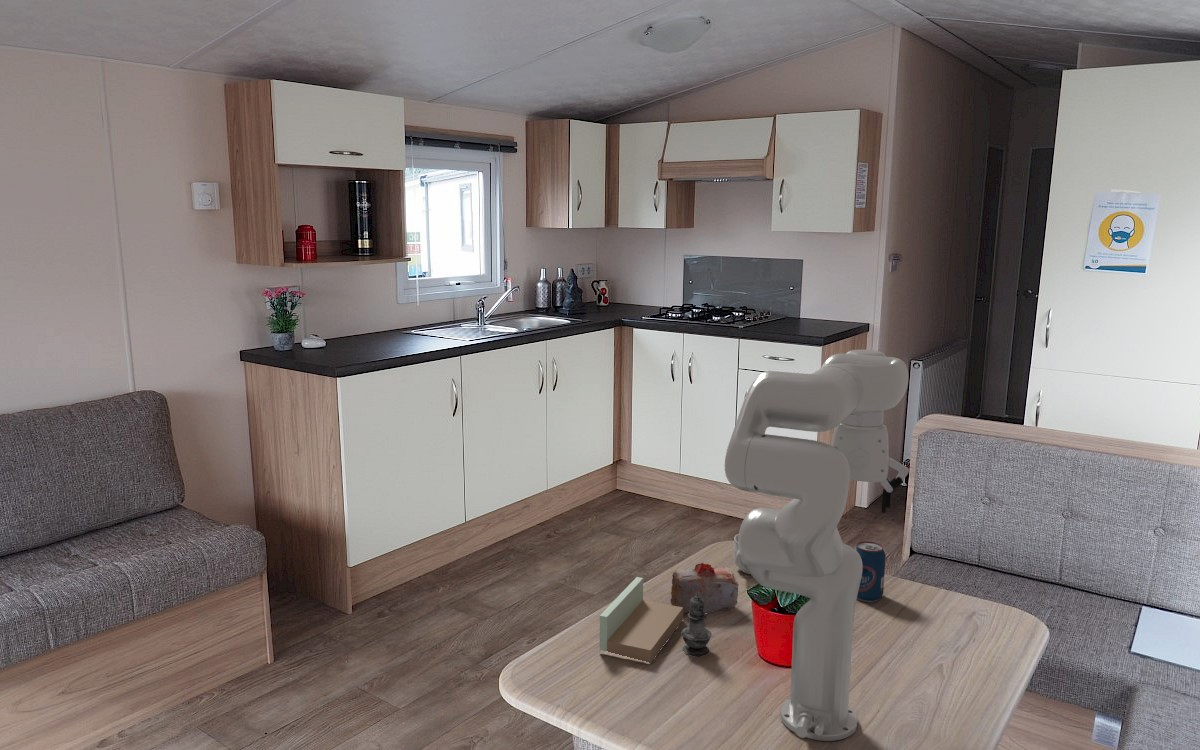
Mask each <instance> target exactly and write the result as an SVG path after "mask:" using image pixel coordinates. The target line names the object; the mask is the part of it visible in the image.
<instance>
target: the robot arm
mask: <svg viewBox="0 0 1200 750" xmlns="http://www.w3.org/2000/svg"><path fill="white" fill-rule="evenodd" d="M908 386H909V369H908V366H907V364H906V362H904V361H903V360H902V359H901V358H897V357H893V356H886V354H885V353H884V352H882V351H880V350H874V349H852V350H849V351H848V352H846V353H835V354H832V355H831V356H829V357H828V358H826V360H825V361H824V363H822V365H821V367H820V368H819V369H817V370H815V371H813V372H812V373H800V372H789V371H778V370H766V371H763V372H761V373H760V374H758V375H757V377H755V379H754V380H753V381H752V383H751V385H750V387H749V389H748V390H747V393H746V396H745V398H744V400H743V402H742V405H741V408H740V410H739V414H738V416H737V419H736V422H735V424H734V428H733V431H732V434H731V437H730V440H729V441H728V446H727V448H726V452H725V453H726V454H725V457H724V472H725V477H726V479H727V481H728V482H729V484H730V485H731V486H732V487H734V488H736V489H738V490H740V491H745V492H750V493H756V494H762V495H769V496H776V497H781V498H785V499H786V498H789V499H791V500H790V501H789V502H788V503H786V504H785V505H783V507H782V508H781V509H775V508H767V507H758V508H754V509H752V510H750V512H748V513H747V514H746V515H745V517H744V519H743V520H742V522H741V524H740V527H739V531H738V532H739V533H738V534H739V540H738V543H739V552H740V556H741V559H742V561H743V563H744V565H745V566H746V568H747V569H748V570H749V572H750V573H751V574H752V575H751V576H752V577H753V579H754V580H755V581H756V583H758V584H760V585H761V586H763V587H764V588H766V589H767V588H768V589H772V590H775V591H781V592H785V593H790V594H795V595H800V596H803V597H806V598H809V600H807V602H806V603H805V604H803V605H802V606H801V607H800V609H798V611H797V612H796V614H795V616H794V619H793V626H792V627H793V629H792V631H793V632H792V652H791V653H792V655H791V657H792V658H791V674H790V675H791V676H790V677H791V678H790V696H789V698H787V699H786V700H784V701H783V702H782V703H781V706H780V709H779V716H780V720H781V722H782V724H783V725H785V727H787V728H788V729H789V730H790V731H792V732H793V733H795V734H796V735H797V736H798V737H799V738H803V739H804V738H806V739H810V740H815V741H820V742H821V741H822V742H834V741H840V740H843V739H844V740H845V739H846V738H848V737H850V736H851V735H853V734H854V733H855V732H856V731H857V729H858V728H857V727H858V716H857V714H856V712H855V711H854V710H853V709H852V708H851V706H849V699H850V686H851V685H850V684H851V667H852V648H853V635H854V634H853V633H854V620H855V610H856V606H857V605H856V604H857V600H858V599H857V595H858V590H859V586H860V582H861V577H862V567H863V565H862V559H861V557H860V555H859V553H858V552H857V551H856V550H855V548H854V547H852V546H850V545H848V544H845V543H843V539H842V537H841V534H840V531H839V530H838V527H837V526H838V524H839V523H840V521H841V519H842V516H843V514H844V510H845V508H846V505H847V504H846V503H847V500H848V497H849V496H848V495H849V491H850V490H849V488H850V482H851V481H854V482H855V481H857V482H867V483H880V485H881V486H882V487H883V488H882V499H881V513H882V514H886V513H887V512H886V510H887V509H888V508H889V509H890V508H891V496H892V495H891V494H892V492H893V490H895V489H896V488H898V487H899V486H900V485H901V484H903V482H904V480H905V479H906V477H907V476H908V474H909V472H910V469H909V468H908V467H907V466H906V465H904V464H902V463H900V461H899V462H898V461H897V460H896V459H894V458H892V457H890V456H889V454H890V453H889V450H890V449H889V448H890V446H889V445H890V444H889V432H888V428H887V427H888V426H886V425H885V424H884V419H885V418H884V415H885V411H887V410H890V409H893V408H895V407H896V406H897V405H898V404H899V403H900V402H901V401H902V399H903V398H904V396H905V394H906V392H907V389H908ZM769 427H771V428H778V429H789V430H794V431H804V432H813V433H818V432H819V433H820V432H821V433H822V432H827V431H830V430H831V431H832V430H833V429H834V430H833V434H832V441H831V444H829V443H825V442H822V441H818V440H814V439H808V438H798V437H793V436H792V437H790V436H783V435H777V434H767V433H766V431H767V429H768V428H769ZM889 467H890V468H892V469H893V470H895V471H897V472H898V473H897V475H896V476H895V477H894V478H892V479H891V480H890V478H889V477H888V472H889Z"/></svg>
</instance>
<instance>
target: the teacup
mask: <svg viewBox="0 0 1200 750" xmlns="http://www.w3.org/2000/svg"><path fill="white" fill-rule="evenodd" d="M733 540H734V541H733V555H732V556H733V562H734V564H735V566H736V567H737V568H738V569H739V570H740V571H741V572H743V573H745V574H747V575H750V574H751V573H750V572H749V570H748V569H747V568H746V566H745V565H744V563H743V561H742V559H741V556H740V552H739V543H738V540H739V533H737V534H735V535H734V537H733ZM750 576H752V574H751V575H750Z"/></svg>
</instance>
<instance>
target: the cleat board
mask: <svg viewBox="0 0 1200 750" xmlns="http://www.w3.org/2000/svg"><path fill="white" fill-rule="evenodd" d="M682 620H683V621H684V613H683V607H678V606H673V605H672V604H666V603H660V602H656V601H650V600H646V599H645V600H644V577H639V576H636V577H635V578H634V579H633V580H632V581H631V582H630V583H629V584H628V586H627V587H626V588H625V589H624V590H623V591H622V592H621V593H620V594H619V595H618V596H617V597H616V598H615V599H613V601H612V602H611V603H609V606H608V607H606V608H605V610H603V612H602V613H601V614H600V615H599V651H600V650H603V651H608V652H611V653H615V654H619V655H622V656H627V657H630V658H634V659H638V660H642V661H646V662H649V663H651V662H652V661H653V659H654V658H655V656H656V655H657V654H658V652H659V651H660V649H661V648H662V647H663V645H664V644H665V643H666V641H667V640H668V639H669V638H670V636H671V635H672V634H673V632H674V631H675V630H676V631H677V629H678V628H679V627H680V625H681V624H682V623H681V622H683V621H682ZM680 623H681V624H680ZM679 624H680V625H679ZM678 626H679V627H678ZM677 627H678V628H677ZM676 628H677V629H676ZM676 631H675V632H676ZM675 632H674V633H675ZM673 635H674V634H673ZM673 635H672V636H673ZM672 636H671V637H672ZM670 639H671V638H670ZM670 639H669V640H670ZM669 640H668V641H669ZM666 644H667V643H666ZM666 644H665V645H666ZM663 648H664V647H663ZM660 652H661V651H660ZM658 655H659V654H658ZM658 655H657V656H658ZM655 659H656V658H655ZM655 659H654V660H655ZM653 662H654V661H653ZM653 662H652V663H653Z"/></svg>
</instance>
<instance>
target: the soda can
mask: <svg viewBox="0 0 1200 750" xmlns="http://www.w3.org/2000/svg"><path fill="white" fill-rule="evenodd" d="M854 549H855V550H856V551H857V552H858V553H859V555H860V557H861V559H862V565H863V567H862V577H861V582H860V586H859V590H858V595H857V599H856V600H858V601H862V602H864V603H865V602H867V603H874V602H877V601H879V600H880V599H881V598H882V596H884V589H885V588H884V587H885V573H886V571H885V570H886V557H887V556H886V553H885V551H884V546H883V545H882V544H881V543H878V542H876V541H875V542H874V541H859V542H857V543H856V545H855V548H854Z"/></svg>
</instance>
